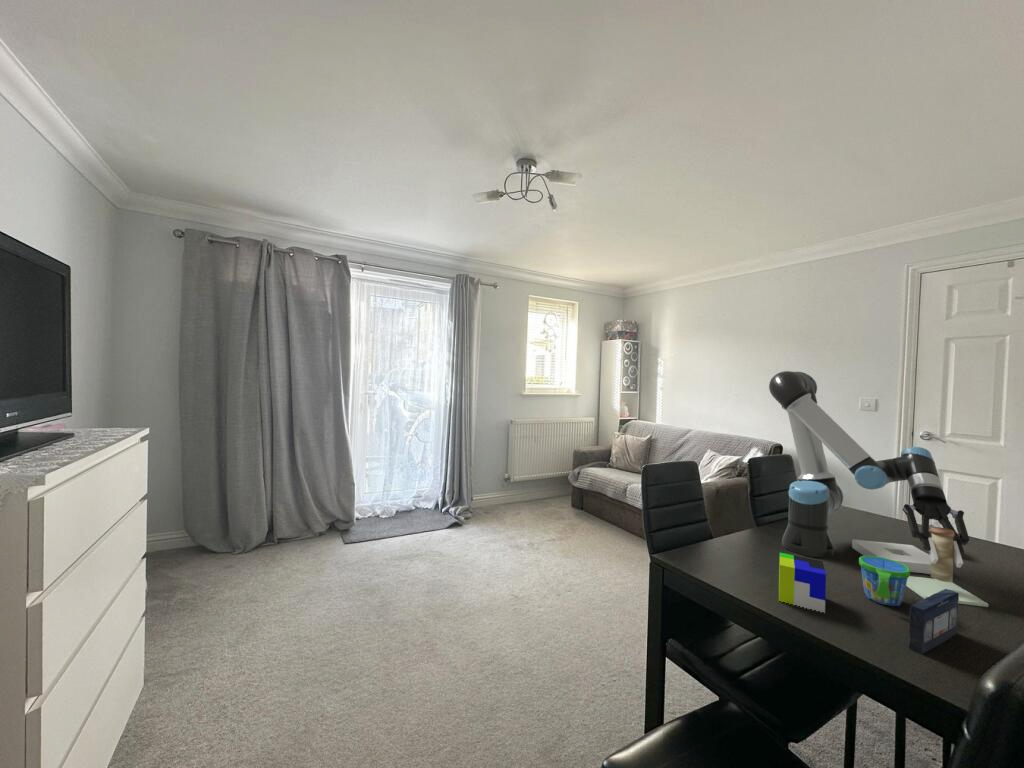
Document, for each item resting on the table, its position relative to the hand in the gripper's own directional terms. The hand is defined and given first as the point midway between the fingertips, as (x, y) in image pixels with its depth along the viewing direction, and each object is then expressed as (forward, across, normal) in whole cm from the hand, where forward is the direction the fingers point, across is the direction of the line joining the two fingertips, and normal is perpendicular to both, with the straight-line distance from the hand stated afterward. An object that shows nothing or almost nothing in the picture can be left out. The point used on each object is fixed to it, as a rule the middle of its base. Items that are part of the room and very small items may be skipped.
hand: (947, 563), depth 118 cm
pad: (+4, +1, -10) cm, 11 cm away
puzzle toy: (+23, +36, +9) cm, 44 cm away
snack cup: (+15, +16, +1) cm, 22 cm away
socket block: (-12, +4, -25) cm, 28 cm away
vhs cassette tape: (+28, +11, +14) cm, 33 cm away
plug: (+1, 0, -7) cm, 7 cm away
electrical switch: (-25, -11, -39) cm, 48 cm away
